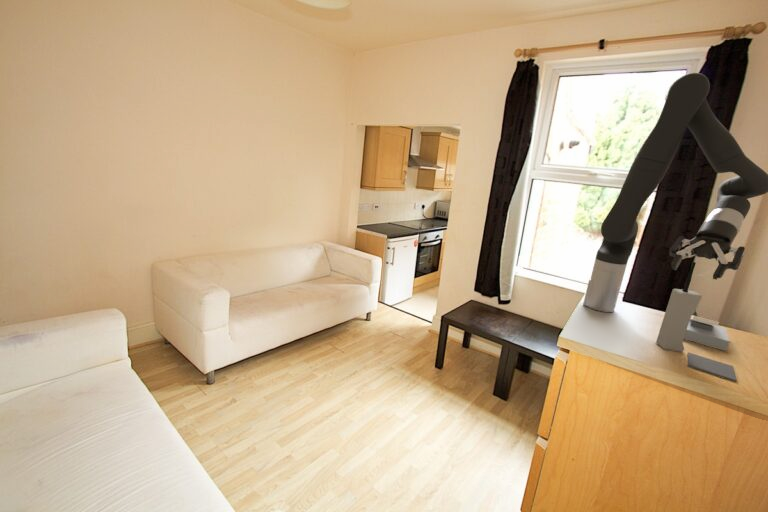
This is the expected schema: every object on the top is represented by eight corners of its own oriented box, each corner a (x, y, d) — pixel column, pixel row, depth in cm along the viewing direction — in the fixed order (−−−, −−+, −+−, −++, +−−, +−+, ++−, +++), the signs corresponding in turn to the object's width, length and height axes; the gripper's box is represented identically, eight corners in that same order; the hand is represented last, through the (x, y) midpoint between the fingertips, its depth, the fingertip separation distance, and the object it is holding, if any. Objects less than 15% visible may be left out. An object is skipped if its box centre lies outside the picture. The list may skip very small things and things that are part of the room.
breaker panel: (672, 335, 107) (676, 322, 106) (673, 323, 116) (677, 310, 115) (725, 350, 99) (731, 336, 98) (722, 336, 109) (726, 323, 108)
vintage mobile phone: (683, 352, 96) (712, 265, 90) (662, 349, 97) (690, 262, 91) (675, 346, 100) (703, 261, 93) (655, 342, 101) (682, 259, 94)
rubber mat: (687, 366, 89) (688, 364, 89) (687, 353, 96) (688, 352, 95) (736, 382, 83) (737, 380, 83) (732, 367, 90) (733, 366, 90)
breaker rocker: (692, 319, 104) (693, 315, 103) (688, 318, 113) (689, 315, 113) (717, 325, 100) (719, 321, 100) (711, 324, 110) (713, 321, 110)
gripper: (687, 214, 100) (660, 256, 96) (757, 224, 89) (730, 272, 85) (687, 232, 104) (662, 273, 100) (754, 243, 93) (729, 289, 89)
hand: (693, 272), depth 93 cm, fingers open, 8 cm apart
